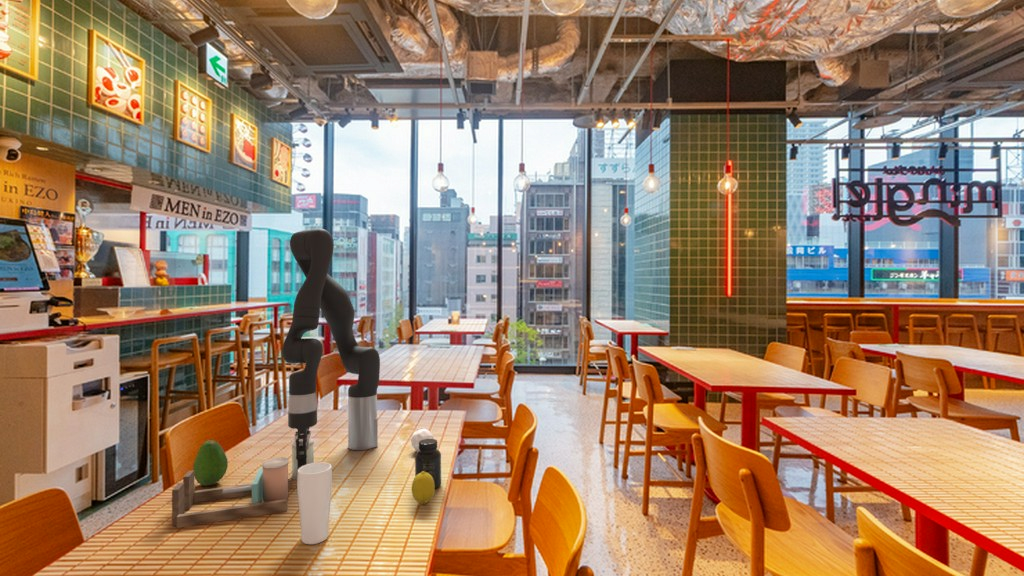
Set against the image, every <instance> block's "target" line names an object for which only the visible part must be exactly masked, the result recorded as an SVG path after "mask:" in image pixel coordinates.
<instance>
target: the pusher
mask: <svg viewBox="0 0 1024 576" xmlns="http://www.w3.org/2000/svg"><path fill="white" fill-rule="evenodd" d="M251 484H252V486H244V487H236V488H229V489H223V491H222V493H223V494H224V493H232V492H239V491H247V490H252V495H251V504H256V503H262V502H263V467H259V468H258V470H257V472H256V475H255V477H254V478H253V481H252V483H251Z"/></svg>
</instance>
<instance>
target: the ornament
mask: <svg viewBox="0 0 1024 576" xmlns="http://www.w3.org/2000/svg"><path fill="white" fill-rule="evenodd" d="M423 439H434V435H433V434H432V433H431V431H430V430H429V429H426V428H422V429H421V428H420V427H418V428H417V430H416V431H415V432H413V434H412V436H411V438H410V442H411V446H412V447H413V449H414V450H415V451H417V452H418V451H419V441H421V440H423Z"/></svg>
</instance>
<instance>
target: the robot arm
mask: <svg viewBox="0 0 1024 576" xmlns="http://www.w3.org/2000/svg"><path fill="white" fill-rule="evenodd" d="M334 246H335V244H334V239H333V236H332V234H331V233H330V232H329V231H328V230H326V229H324V228H314V229H307V230H300V231H296V232H294V233H293V234H292V235H291V236H290V239H289V247H290V250H291V253H292V255H293V258H294V260H295V261H296V263H297V264H298V266H299V268H300V270H301V272H302V273H303V275H304V276H305V279H304V282H303V283H302V284H301V287H300V289H299V290H298V292H297V294H296V296H295V298H294V302H293V303H294V304H293V311H292V317H291V319H292V321H291V324H290V326H289V330H288V331H287V334H286V336H285V339H284V341H283V344H282V346H281V355H282V359H283V360H284V362H286V363H288V364H305V367H304V369H303V370H298V371H295V372H292V373H290V375H289V377H288V401H287V417H288V418H287V425H288V427H289V428H290V429H295V430H297V431H295V433H294V440H295V441H296V442H295V450H296V460H298V469H299V468H300V467H302V466H304V465H306V459H307V450H308V449H309V439H310V438H311V434H312V431H311V429H310V428H312V427H314V426H316V425H317V423H318V397H317V396H318V395H317V375H318V370H319V366H320V363H321V359H322V358H323V357H322V356H323V350H324V347H323V345H322V343H321V341H320V340H319V339H318V338H314V337H310V338H302V337H303V336H304V334H306V333H308V332H311V331H314V330H316V329H318V328H319V323H320V312H321V313H322V315H323V317H324V320H325V321H326V324H327V326H328V327H329V330H330V332H331V336H332V338H333V339H334V342H335V345H336V348H337V351H338V354H339V357H340V361H341V364H342V365H343V367H344V369H345V371H346V372H348V373H349V374H353V375H357V376H358V377H357V382H356V383H354V384H352V385H350V386H349V387H348V390H347V396H348V397H347V398H348V399H347V401H348V402H347V404H348V405H347V409H348V410H347V413H348V414H347V417H348V418H347V427H348V428H347V429H348V431H347V432H348V434H347V439H348V440H347V445H348V449H349V450H352V451H364V450H370V449H373V448H379V447H378V445H379V444H378V442H379V439H378V437H379V436H378V435H379V434H378V429H379V428H378V424H379V423H378V422H379V421H378V387H379V385H380V373H381V371H380V370H381V358H380V353H379V351H378V350H377V349H376V348H374V347H370V346H360V345H359V344H358V342H357V340H356V337H355V335H354V330H353V326H354V322H355V307H354V306H353V303H352V300H351V298H350V296H349V294H348V292H347V290H346V289H345V288H344V287H343V286H342V285H340V283H339V282H338V281H336V280H335V279H334V278H333V277H332V276H331V275H330V274H329V270H330V269H329V268H330V265H331V262H332V258H333V253H334ZM306 443H307V446H306ZM301 451H304V454H302V455H299V452H301Z"/></svg>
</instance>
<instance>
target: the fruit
mask: <svg viewBox="0 0 1024 576" xmlns="http://www.w3.org/2000/svg"><path fill="white" fill-rule="evenodd" d="M228 460H229V459H228V457H227V455H226V452H225V450H224V449H223V448H222V446H221V445H220V443H219V442H218V441H216V440H213V439H209V440H206V441H205V442H204V443H202V444H201V446H200V447H199V449H198V451H197V454H196V456H195V459H194V461H193V466H192V467H193V469H192V470H194V480H196V482H197V483H199V484H200V485H201V486H205V487H208V486H213V485H215V484H217V483H218V482H220V481H221V480H222V479H223V477H224V476H225V475H226V473H227V471H228V466H229V464H228V463H229V461H228Z"/></svg>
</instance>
